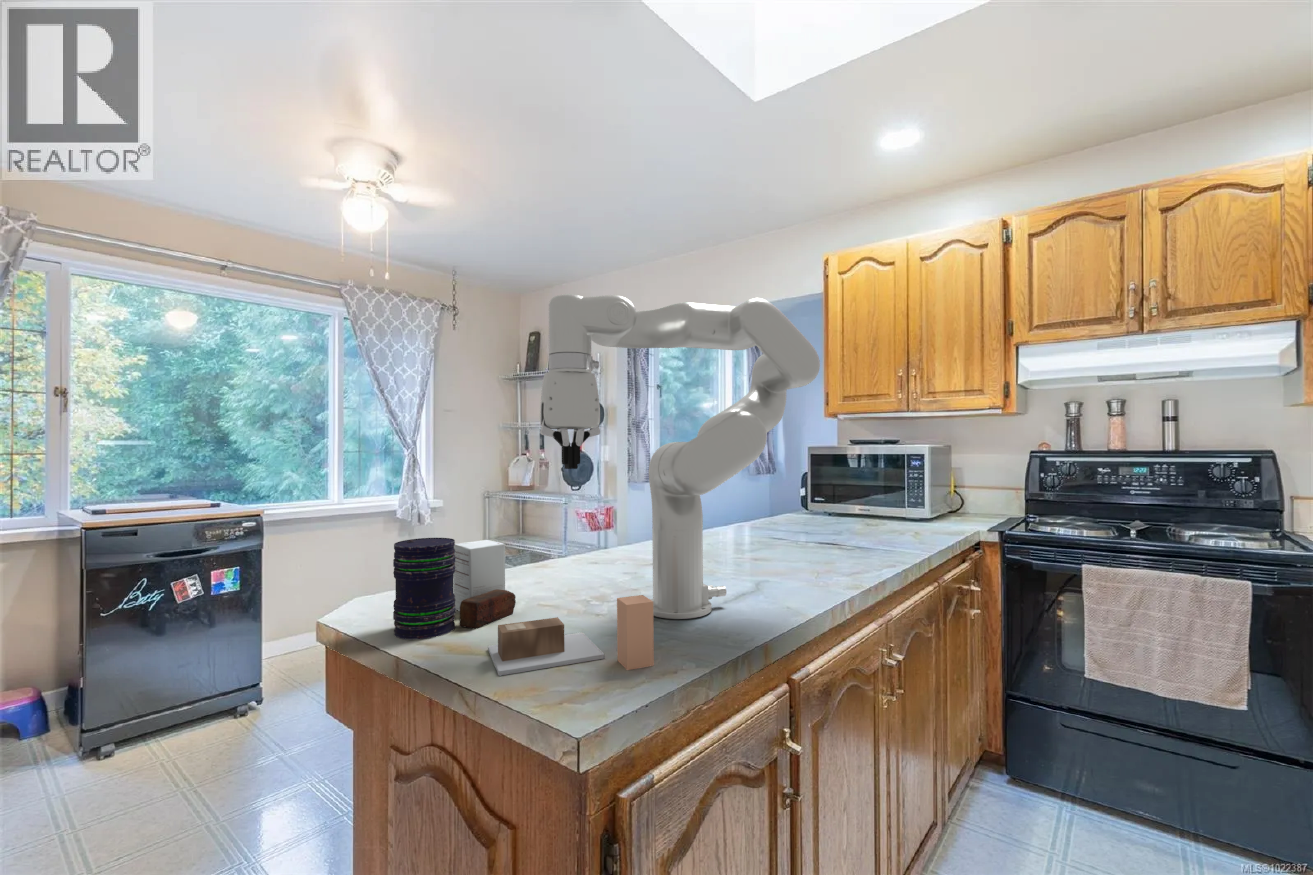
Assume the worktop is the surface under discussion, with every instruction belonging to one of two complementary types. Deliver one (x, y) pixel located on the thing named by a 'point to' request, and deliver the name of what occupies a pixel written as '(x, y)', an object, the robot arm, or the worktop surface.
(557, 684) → the worktop surface
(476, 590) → the supplement box
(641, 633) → the terracotta block
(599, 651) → the mat
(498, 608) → the brick
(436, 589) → the dark blue ribbed cylinder
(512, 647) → the brown cardboard box
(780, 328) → the robot arm
